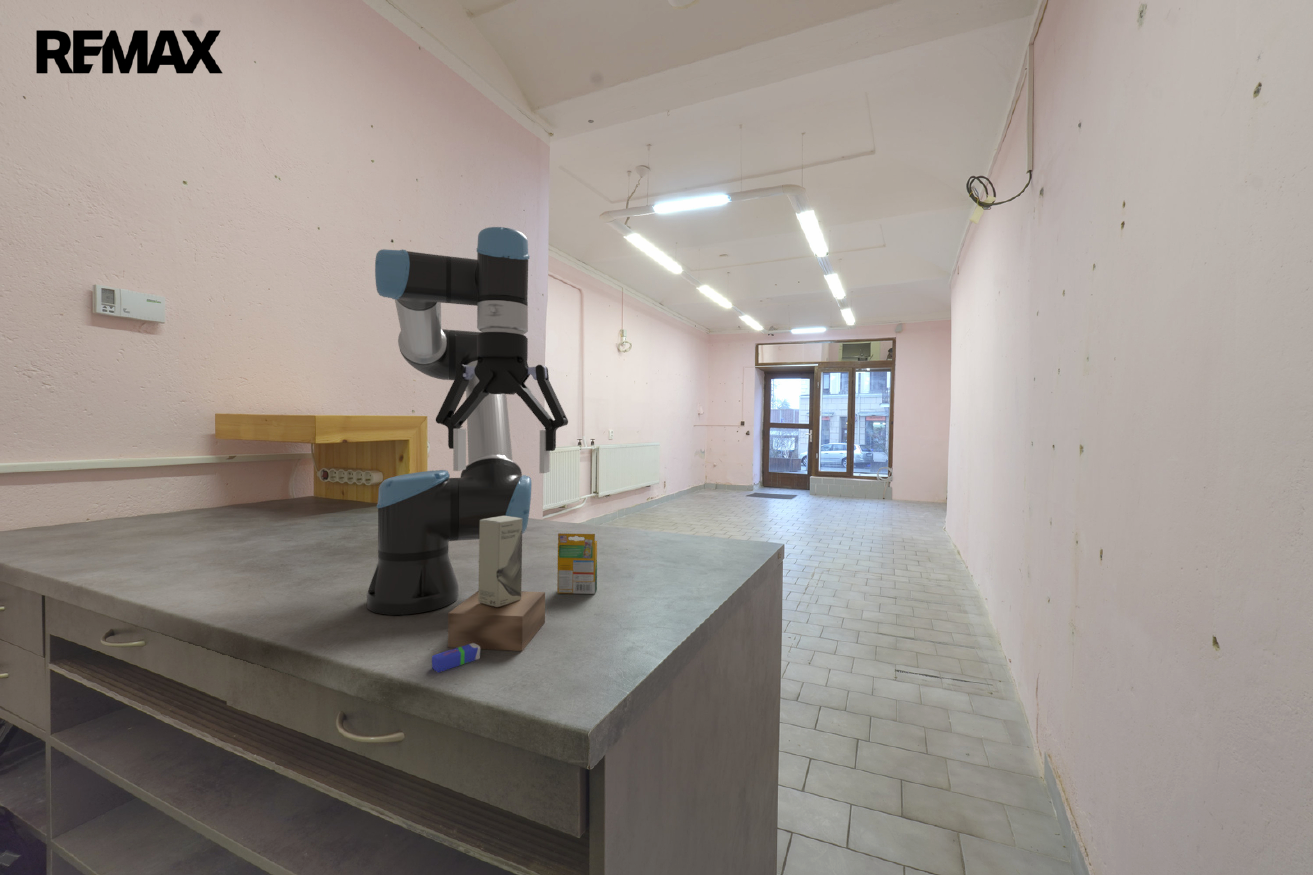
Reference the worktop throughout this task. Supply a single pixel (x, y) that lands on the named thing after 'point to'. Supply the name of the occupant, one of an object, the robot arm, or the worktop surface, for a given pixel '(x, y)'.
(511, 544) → the box
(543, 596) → the block
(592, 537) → the crayon box
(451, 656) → the eraser
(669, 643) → the worktop surface
